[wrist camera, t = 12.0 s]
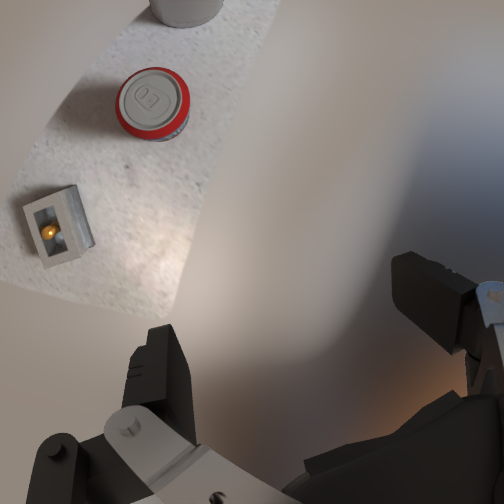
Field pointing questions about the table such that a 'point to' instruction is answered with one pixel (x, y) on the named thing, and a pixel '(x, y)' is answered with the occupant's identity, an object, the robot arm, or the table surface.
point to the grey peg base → (55, 227)
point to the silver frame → (67, 224)
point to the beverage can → (153, 104)
